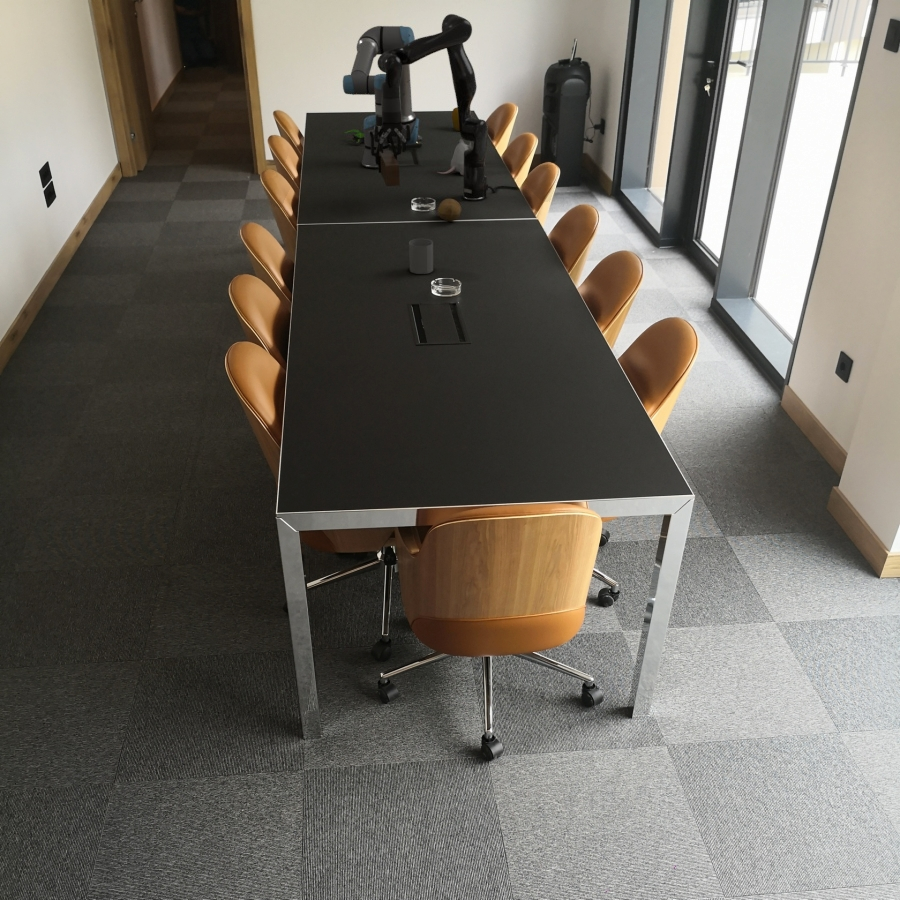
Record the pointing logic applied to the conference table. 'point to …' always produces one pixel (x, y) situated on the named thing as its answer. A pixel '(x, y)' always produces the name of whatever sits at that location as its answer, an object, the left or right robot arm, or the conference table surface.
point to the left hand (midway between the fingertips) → (386, 171)
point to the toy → (458, 158)
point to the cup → (421, 256)
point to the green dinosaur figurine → (356, 137)
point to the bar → (389, 168)
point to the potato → (449, 209)
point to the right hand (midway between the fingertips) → (392, 152)
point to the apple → (455, 119)
